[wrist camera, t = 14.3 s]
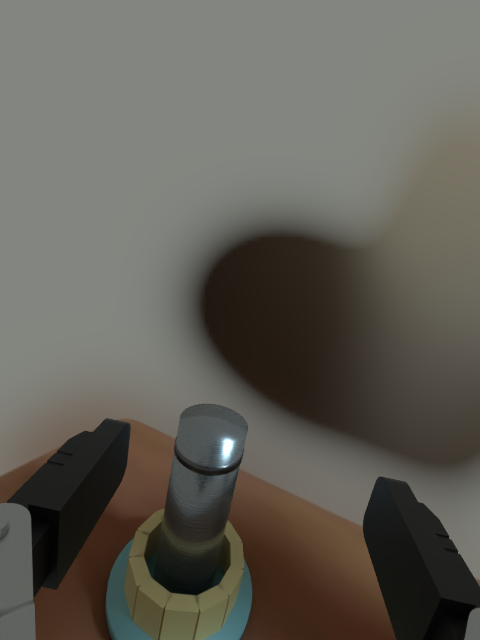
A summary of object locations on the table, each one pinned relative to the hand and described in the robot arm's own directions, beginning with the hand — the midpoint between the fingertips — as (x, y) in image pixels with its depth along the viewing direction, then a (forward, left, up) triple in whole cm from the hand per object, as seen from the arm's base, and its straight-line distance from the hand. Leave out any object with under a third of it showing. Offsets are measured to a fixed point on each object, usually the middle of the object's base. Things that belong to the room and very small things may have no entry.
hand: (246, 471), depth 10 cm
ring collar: (-5, -10, -20) cm, 23 cm away
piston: (-5, -9, -19) cm, 22 cm away
